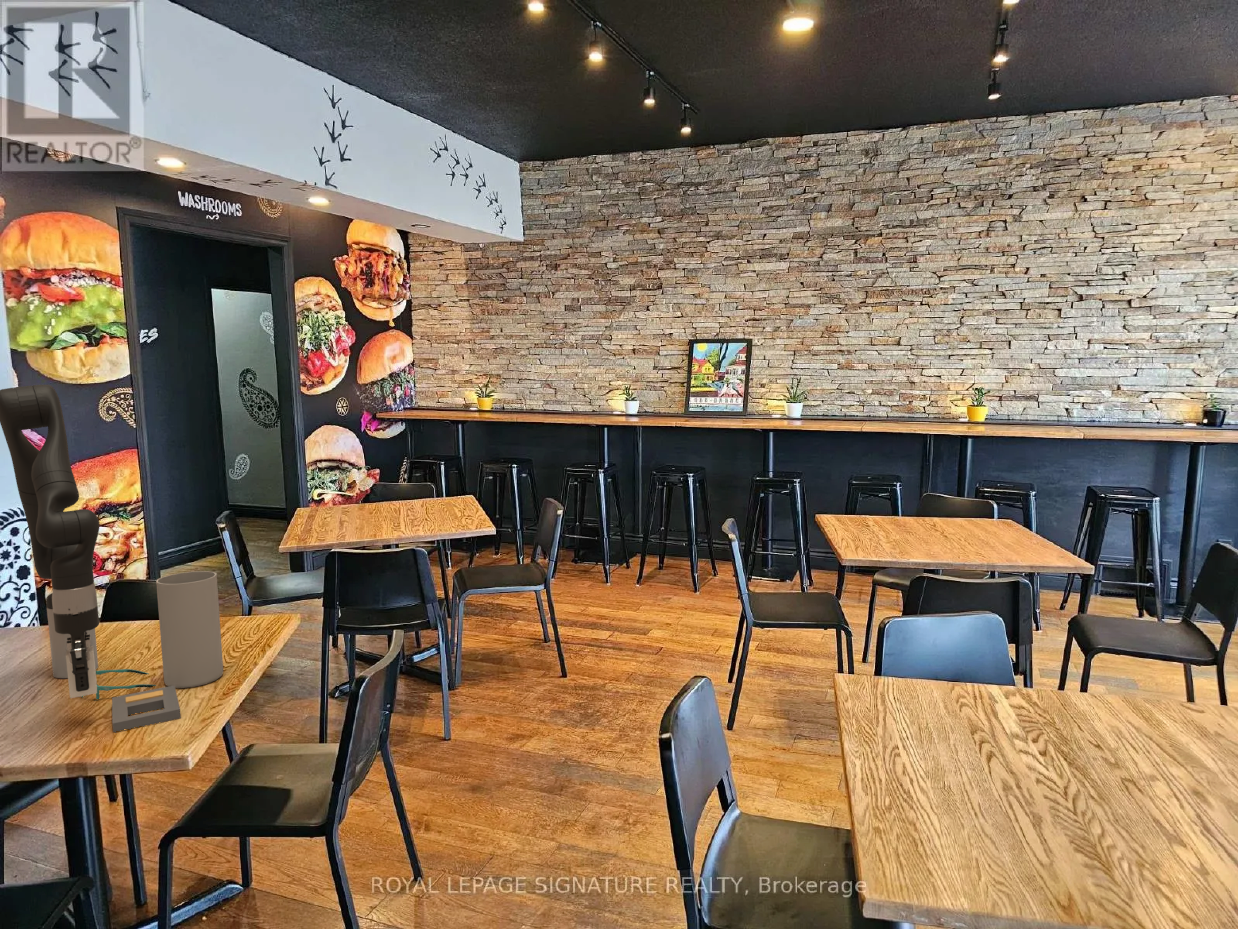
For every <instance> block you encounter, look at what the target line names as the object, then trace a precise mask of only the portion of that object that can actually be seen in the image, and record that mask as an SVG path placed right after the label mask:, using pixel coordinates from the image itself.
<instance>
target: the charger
mask: <svg viewBox="0 0 1238 929" xmlns="http://www.w3.org/2000/svg"><path fill="white" fill-rule="evenodd" d="M89 650H90V659H89V660H88V668H89V670H88V679H89V689H88V690H85V691H80V692H78V691H76V683H75V675H73V673H72V671H73V667H72V663H70V659H69V650H67V651H66V663H67V673H68V678H67V682H68V691H69V699H74V698H79V697H82V696H90V695H94V694H95V695H96V693H97V685H98V684H97V683H98V681H97V675H96V671H97V670H95V660H94V649H93V646H90V648H89ZM86 656H87V653H86ZM79 667H84V664H80V665H76V668H79Z"/></svg>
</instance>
